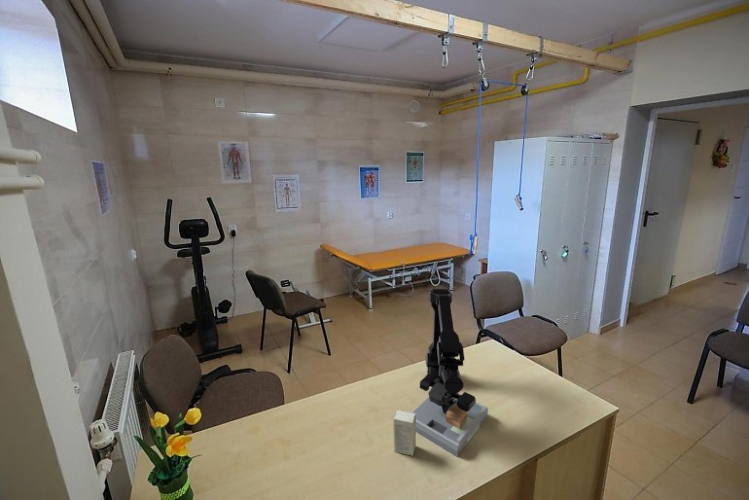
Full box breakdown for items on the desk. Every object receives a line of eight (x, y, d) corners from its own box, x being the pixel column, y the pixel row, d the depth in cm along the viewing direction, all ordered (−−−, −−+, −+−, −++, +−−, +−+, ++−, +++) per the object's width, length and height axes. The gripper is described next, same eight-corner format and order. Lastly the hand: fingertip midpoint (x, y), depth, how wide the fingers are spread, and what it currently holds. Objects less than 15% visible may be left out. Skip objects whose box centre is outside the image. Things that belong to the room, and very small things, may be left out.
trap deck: (404, 424, 118) (404, 412, 117) (437, 393, 134) (438, 381, 133) (456, 456, 105) (457, 443, 104) (487, 417, 121) (488, 405, 120)
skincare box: (416, 445, 110) (417, 413, 106) (412, 456, 106) (413, 423, 102) (396, 440, 112) (396, 408, 108) (392, 451, 108) (393, 418, 104)
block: (446, 422, 117) (446, 412, 116) (453, 414, 120) (453, 404, 119) (459, 429, 114) (460, 419, 112) (466, 420, 117) (467, 410, 116)
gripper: (410, 373, 115) (409, 412, 119) (461, 398, 103) (458, 440, 107) (429, 359, 123) (427, 396, 127) (478, 380, 112) (474, 421, 115)
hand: (445, 413), depth 119 cm, fingers closed
